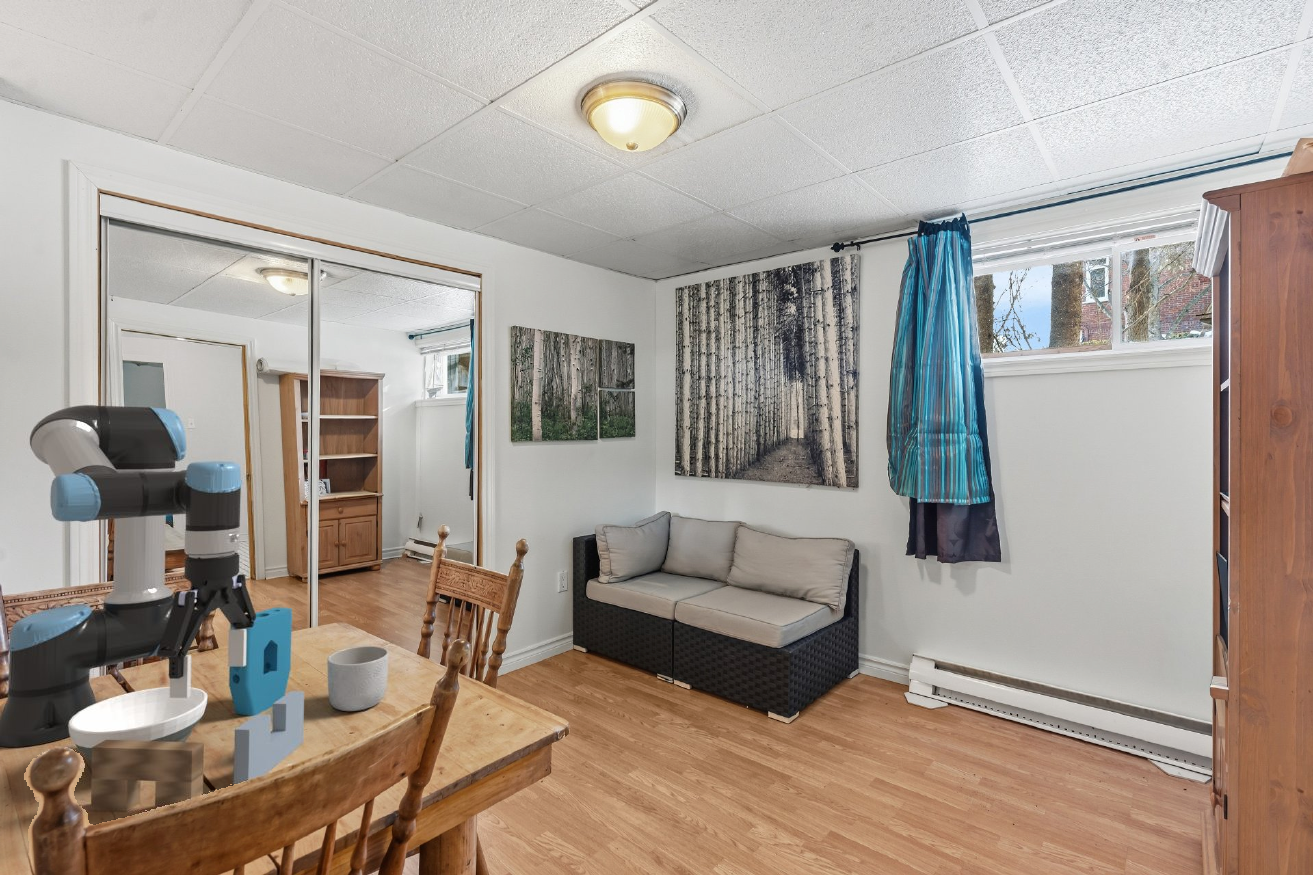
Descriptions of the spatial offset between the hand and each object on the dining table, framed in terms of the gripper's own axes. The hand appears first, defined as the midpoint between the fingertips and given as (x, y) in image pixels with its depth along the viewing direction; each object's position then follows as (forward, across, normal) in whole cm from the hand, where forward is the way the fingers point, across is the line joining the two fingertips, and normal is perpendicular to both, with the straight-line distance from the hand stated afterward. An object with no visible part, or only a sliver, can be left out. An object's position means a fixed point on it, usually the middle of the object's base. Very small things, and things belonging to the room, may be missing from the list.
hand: (210, 680), depth 106 cm
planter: (+18, +35, -9) cm, 40 cm away
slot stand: (+18, +9, -5) cm, 21 cm away
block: (+18, +32, +11) cm, 39 cm away
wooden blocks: (+18, -5, +6) cm, 20 cm away
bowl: (+18, +9, +19) cm, 28 cm away
